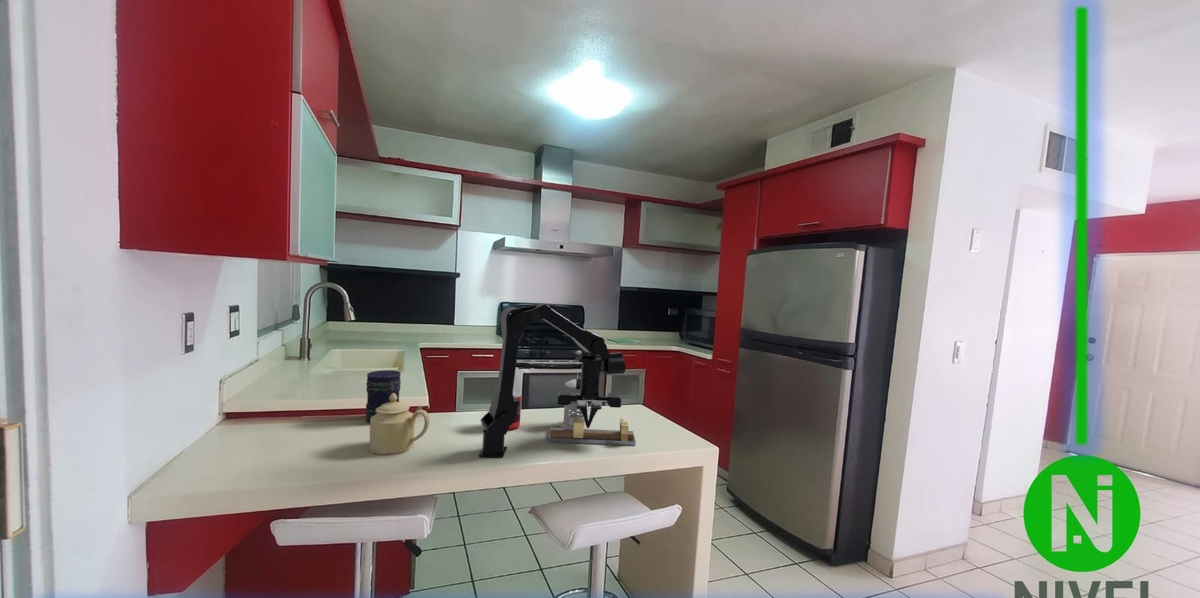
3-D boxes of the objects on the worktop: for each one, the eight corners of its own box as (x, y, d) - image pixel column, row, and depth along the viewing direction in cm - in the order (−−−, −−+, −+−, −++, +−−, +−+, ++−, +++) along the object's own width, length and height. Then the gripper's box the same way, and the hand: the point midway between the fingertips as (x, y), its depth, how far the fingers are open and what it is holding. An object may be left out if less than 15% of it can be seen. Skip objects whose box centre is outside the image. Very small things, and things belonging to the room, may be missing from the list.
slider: (583, 438, 131) (583, 423, 130) (573, 438, 131) (573, 422, 130) (583, 430, 138) (584, 415, 137) (573, 430, 137) (574, 415, 137)
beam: (634, 441, 131) (634, 426, 131) (549, 438, 130) (550, 422, 130) (631, 433, 138) (632, 418, 138) (551, 430, 137) (552, 415, 137)
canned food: (492, 424, 143) (493, 390, 143) (516, 422, 147) (517, 389, 146) (497, 432, 136) (498, 397, 136) (522, 429, 140) (524, 395, 139)
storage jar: (359, 424, 137) (360, 376, 136) (373, 414, 147) (374, 369, 146) (392, 424, 138) (394, 377, 137) (404, 415, 148) (405, 370, 147)
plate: (635, 445, 131) (635, 441, 131) (547, 442, 130) (547, 437, 130) (632, 434, 140) (632, 430, 140) (550, 431, 139) (550, 427, 139)
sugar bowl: (428, 437, 130) (430, 386, 129) (428, 451, 119) (430, 396, 118) (372, 441, 124) (373, 388, 124) (366, 456, 114) (368, 399, 113)
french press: (555, 422, 148) (559, 348, 147) (586, 418, 154) (590, 347, 153) (567, 431, 140) (571, 353, 139) (599, 427, 145) (603, 352, 144)
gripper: (620, 371, 140) (617, 420, 141) (561, 368, 140) (558, 417, 140) (622, 379, 129) (619, 432, 130) (558, 376, 128) (556, 429, 129)
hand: (587, 427), depth 133 cm, fingers closed
